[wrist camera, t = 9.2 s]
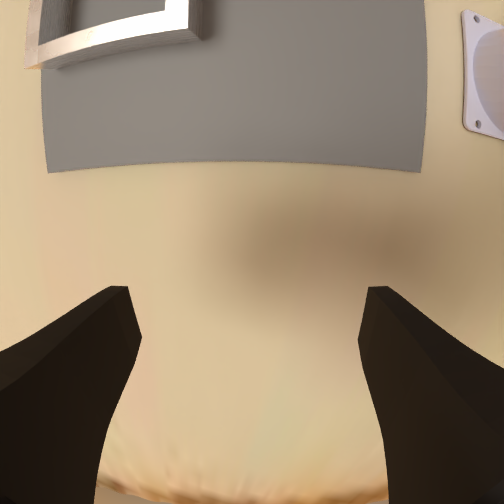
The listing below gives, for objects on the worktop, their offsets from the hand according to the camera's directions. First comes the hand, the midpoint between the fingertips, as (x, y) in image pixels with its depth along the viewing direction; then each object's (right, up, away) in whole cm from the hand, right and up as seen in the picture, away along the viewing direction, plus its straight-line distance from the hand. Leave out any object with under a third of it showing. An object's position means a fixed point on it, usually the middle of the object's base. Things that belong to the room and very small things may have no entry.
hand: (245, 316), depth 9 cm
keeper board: (-1, +17, +2) cm, 17 cm away
